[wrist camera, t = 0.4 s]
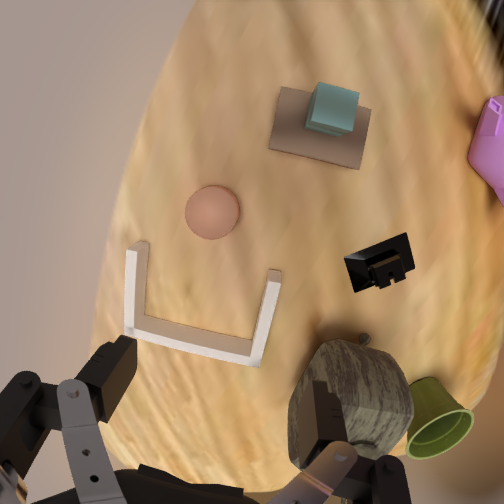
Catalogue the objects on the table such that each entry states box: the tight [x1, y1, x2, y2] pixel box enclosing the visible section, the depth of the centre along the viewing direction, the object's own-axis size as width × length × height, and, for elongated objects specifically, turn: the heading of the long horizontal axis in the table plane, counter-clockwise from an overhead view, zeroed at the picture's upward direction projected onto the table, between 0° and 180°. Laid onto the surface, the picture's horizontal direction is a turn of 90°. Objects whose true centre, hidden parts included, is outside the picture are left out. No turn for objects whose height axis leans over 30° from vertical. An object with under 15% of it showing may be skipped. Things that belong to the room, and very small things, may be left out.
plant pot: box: [406, 377, 474, 459], centre depth 39 cm, size 12×12×11 cm
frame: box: [124, 241, 281, 368], centre depth 40 cm, size 12×19×4 cm, turn 79°
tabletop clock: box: [288, 334, 414, 504], centre depth 31 cm, size 14×9×25 cm, turn 161°
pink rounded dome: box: [185, 185, 239, 240], centre depth 37 cm, size 6×6×3 cm
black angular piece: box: [344, 232, 415, 293], centre depth 37 cm, size 12×7×5 cm, turn 113°
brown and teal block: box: [269, 82, 371, 170], centre depth 29 cm, size 7×10×11 cm
